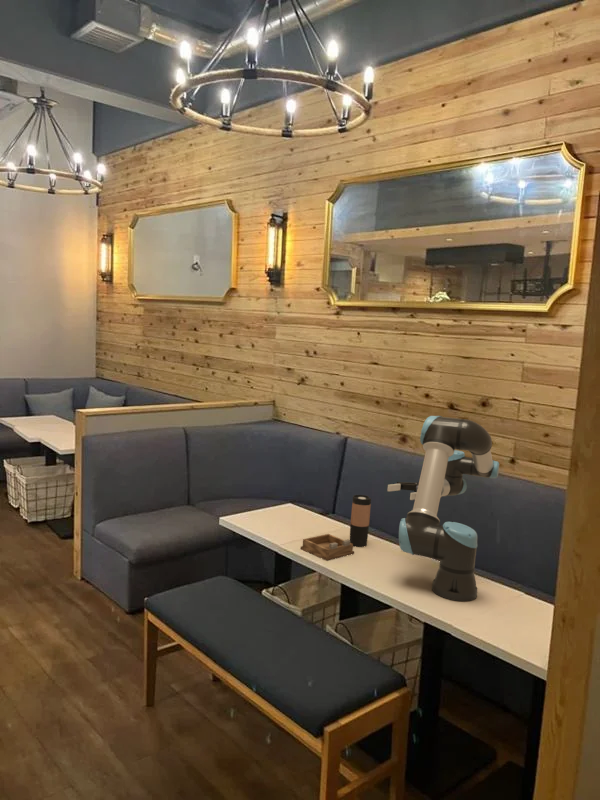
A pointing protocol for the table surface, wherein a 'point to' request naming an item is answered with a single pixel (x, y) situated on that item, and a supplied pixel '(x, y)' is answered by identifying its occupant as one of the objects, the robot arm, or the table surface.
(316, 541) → the tray
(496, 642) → the table surface
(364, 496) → the travel mug
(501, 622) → the table surface
